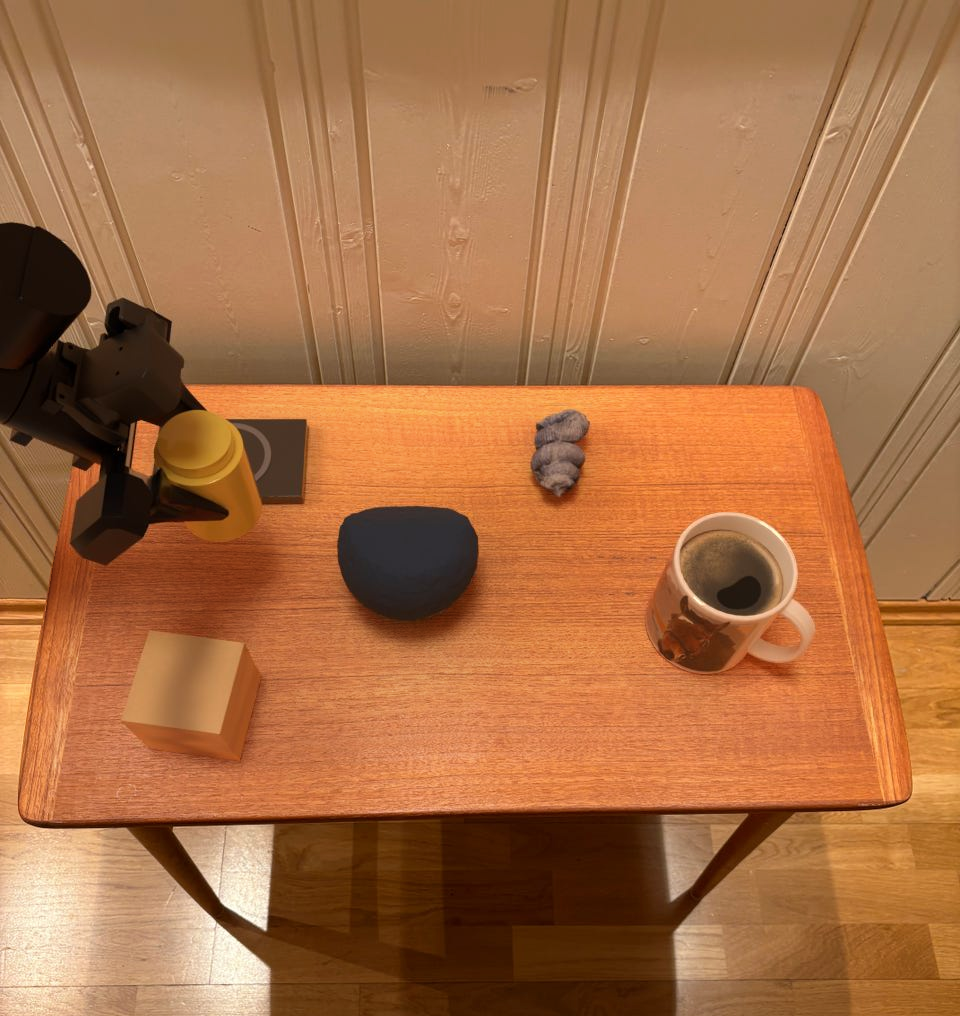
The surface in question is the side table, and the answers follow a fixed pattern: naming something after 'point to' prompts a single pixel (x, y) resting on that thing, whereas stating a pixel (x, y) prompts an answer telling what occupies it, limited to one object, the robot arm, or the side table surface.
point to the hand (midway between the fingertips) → (228, 479)
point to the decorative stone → (407, 559)
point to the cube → (192, 695)
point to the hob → (275, 456)
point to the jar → (210, 471)
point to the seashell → (559, 451)
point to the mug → (726, 596)
